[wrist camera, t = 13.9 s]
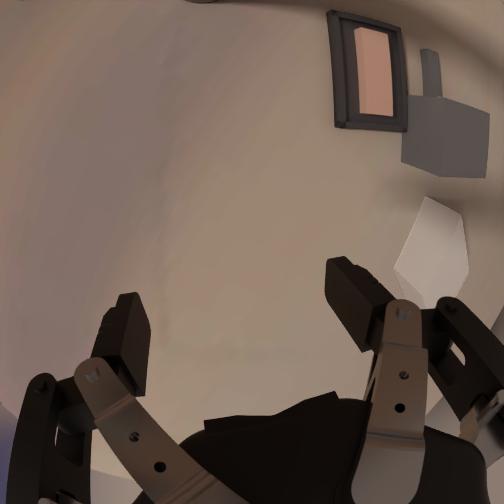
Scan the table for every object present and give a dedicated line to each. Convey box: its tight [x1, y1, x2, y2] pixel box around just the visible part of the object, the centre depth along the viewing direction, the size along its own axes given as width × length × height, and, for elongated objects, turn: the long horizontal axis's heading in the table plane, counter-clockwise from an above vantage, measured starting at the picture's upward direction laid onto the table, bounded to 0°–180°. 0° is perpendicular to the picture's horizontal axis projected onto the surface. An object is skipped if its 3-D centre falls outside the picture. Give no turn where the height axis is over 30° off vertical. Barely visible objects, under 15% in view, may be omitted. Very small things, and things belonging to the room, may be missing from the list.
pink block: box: [354, 27, 393, 116], centre depth 32 cm, size 14×5×2 cm, turn 4°
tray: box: [326, 10, 407, 132], centre depth 33 cm, size 19×13×2 cm
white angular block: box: [394, 196, 469, 309], centre depth 48 cm, size 14×29×10 cm, turn 10°
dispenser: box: [401, 49, 490, 178], centre depth 33 cm, size 22×14×10 cm, turn 4°
